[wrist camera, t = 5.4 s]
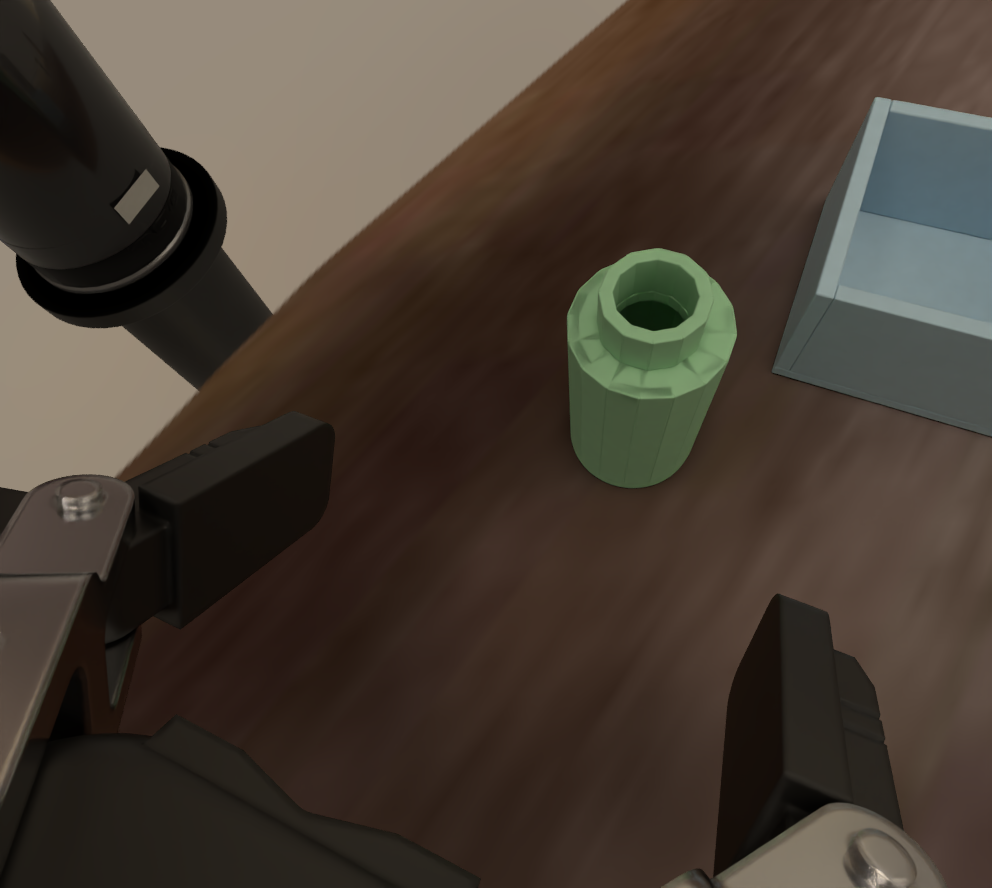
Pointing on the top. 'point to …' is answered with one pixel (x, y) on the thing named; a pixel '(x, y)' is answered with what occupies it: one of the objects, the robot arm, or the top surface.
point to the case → (903, 270)
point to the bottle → (645, 364)
